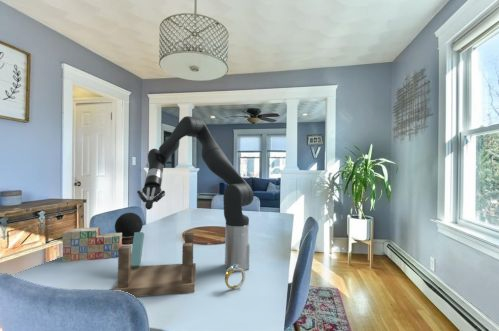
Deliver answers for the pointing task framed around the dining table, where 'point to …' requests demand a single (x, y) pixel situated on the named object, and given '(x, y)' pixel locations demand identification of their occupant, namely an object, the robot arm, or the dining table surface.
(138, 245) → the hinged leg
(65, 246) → the stack of blocks
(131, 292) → the wooden rack
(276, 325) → the dining table surface
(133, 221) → the black ball on pedestal
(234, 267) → the bracelet
